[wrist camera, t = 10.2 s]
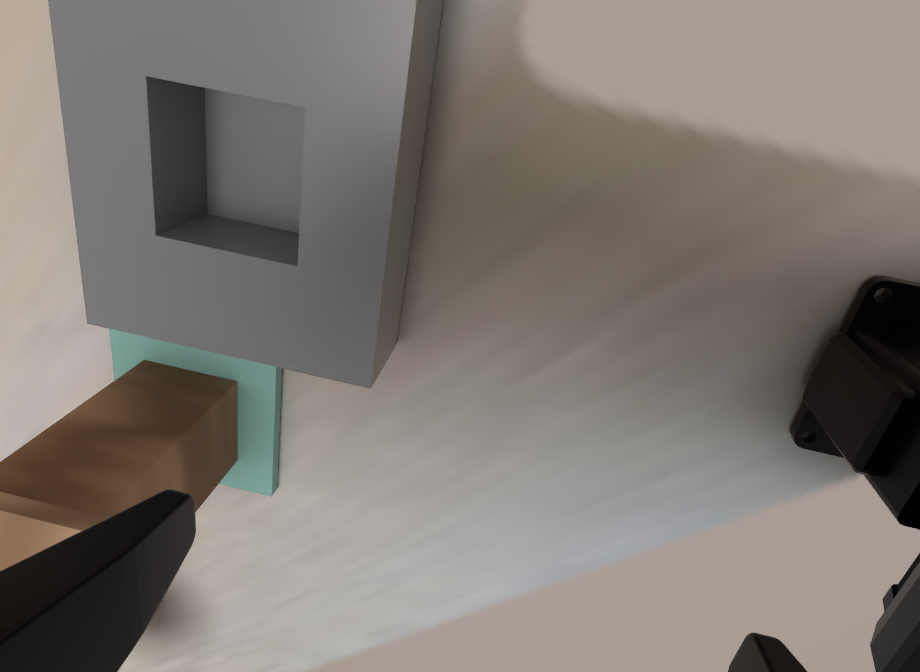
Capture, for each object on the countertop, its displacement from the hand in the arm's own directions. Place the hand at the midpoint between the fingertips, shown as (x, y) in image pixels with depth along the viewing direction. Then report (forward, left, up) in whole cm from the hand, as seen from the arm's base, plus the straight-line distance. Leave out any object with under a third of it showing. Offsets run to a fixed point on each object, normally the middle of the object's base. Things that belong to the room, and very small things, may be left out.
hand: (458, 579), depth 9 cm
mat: (+12, +8, -13) cm, 19 cm away
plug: (+12, +8, -12) cm, 19 cm away
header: (+9, -3, -13) cm, 16 cm away
